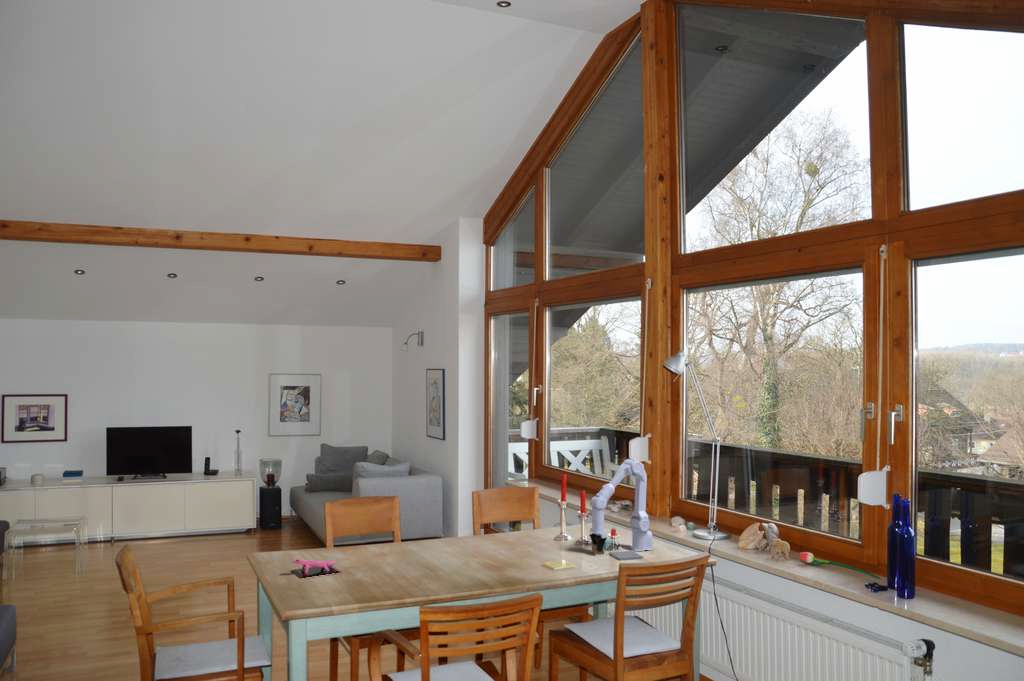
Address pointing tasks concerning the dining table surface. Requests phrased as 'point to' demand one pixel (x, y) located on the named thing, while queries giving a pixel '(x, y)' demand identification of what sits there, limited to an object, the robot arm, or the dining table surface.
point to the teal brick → (608, 543)
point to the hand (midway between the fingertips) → (597, 550)
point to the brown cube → (594, 549)
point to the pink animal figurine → (314, 568)
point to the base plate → (625, 555)
